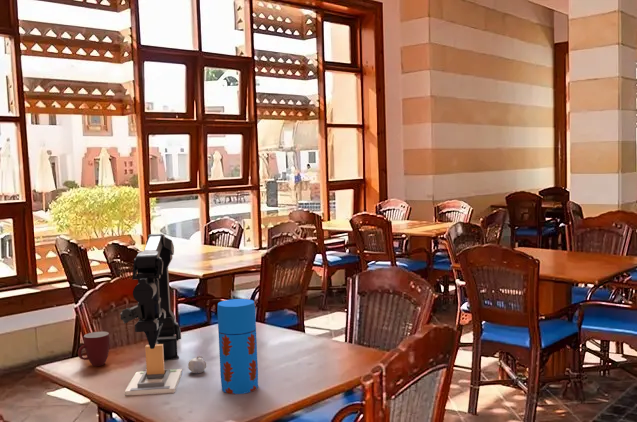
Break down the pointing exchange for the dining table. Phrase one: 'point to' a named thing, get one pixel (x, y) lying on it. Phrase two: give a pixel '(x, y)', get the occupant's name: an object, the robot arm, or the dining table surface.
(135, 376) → the panel
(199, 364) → the garlic
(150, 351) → the orange upright block
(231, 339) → the thermos
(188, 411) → the dining table surface
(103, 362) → the mug
